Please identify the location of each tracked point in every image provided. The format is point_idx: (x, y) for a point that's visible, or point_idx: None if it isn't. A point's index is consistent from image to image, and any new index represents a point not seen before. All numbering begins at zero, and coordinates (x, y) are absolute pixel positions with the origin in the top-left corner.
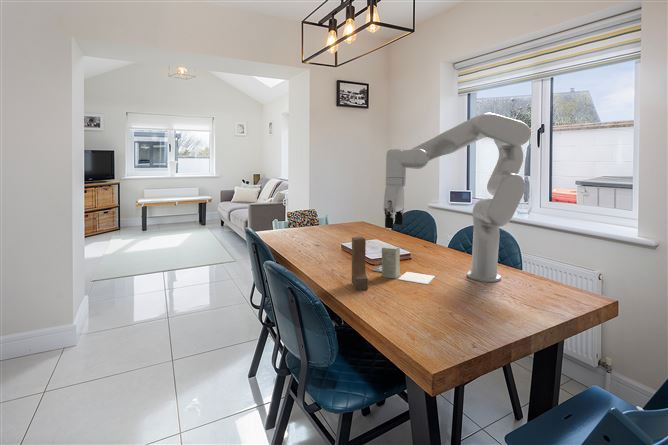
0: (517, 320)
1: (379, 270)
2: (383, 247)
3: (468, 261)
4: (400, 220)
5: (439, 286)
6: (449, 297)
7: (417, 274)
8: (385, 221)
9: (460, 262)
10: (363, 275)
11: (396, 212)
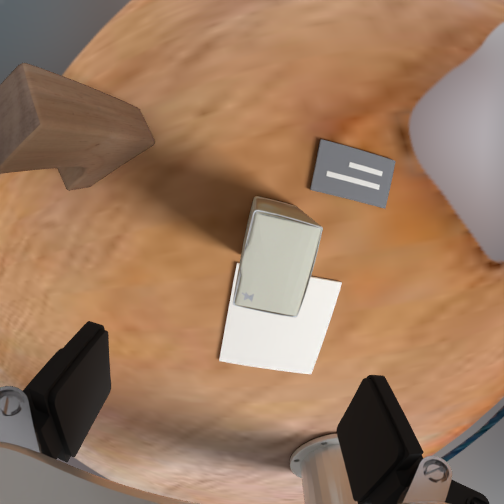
0: (103, 460)
1: (326, 171)
2: (259, 221)
3: (460, 410)
4: (349, 451)
5: (215, 386)
6: (142, 400)
7: (314, 323)
8: (57, 360)
9: (455, 399)
10: (77, 168)
11: (405, 489)
